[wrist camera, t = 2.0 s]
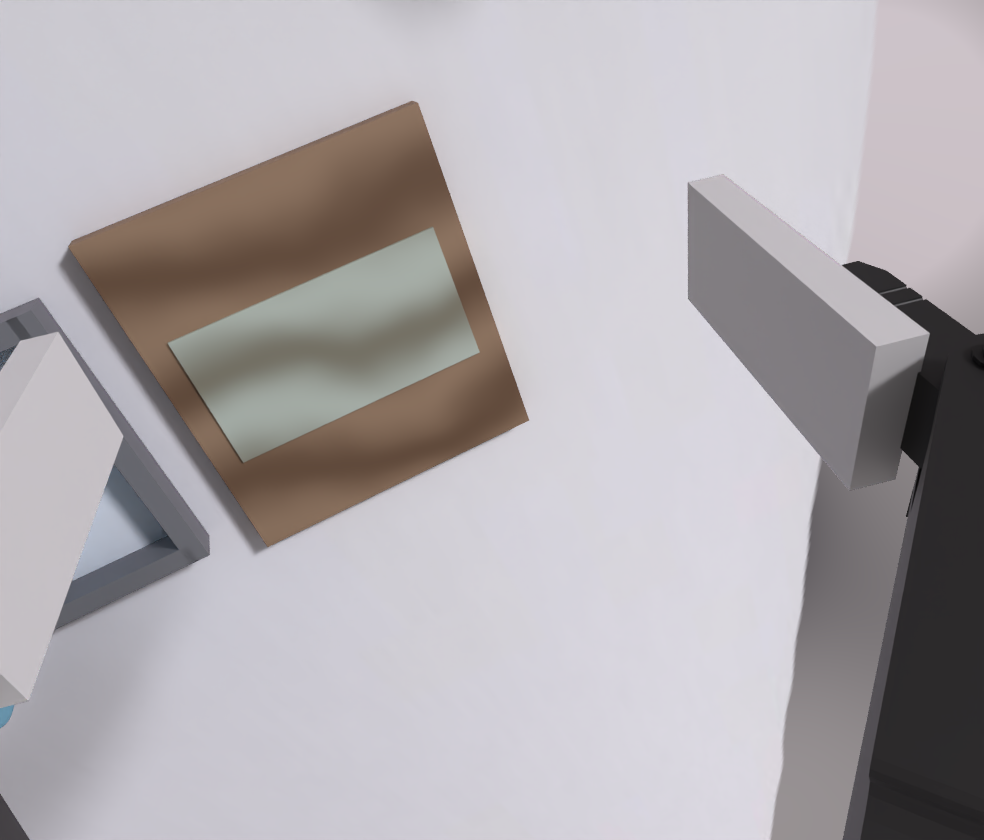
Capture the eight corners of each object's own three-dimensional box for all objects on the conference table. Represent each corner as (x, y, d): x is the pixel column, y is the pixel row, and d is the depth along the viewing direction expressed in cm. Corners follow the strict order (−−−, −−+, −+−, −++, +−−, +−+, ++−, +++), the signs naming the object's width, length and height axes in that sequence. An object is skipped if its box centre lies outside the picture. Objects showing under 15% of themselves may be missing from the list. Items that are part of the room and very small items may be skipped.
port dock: (72, 240, 35) (67, 247, 34) (411, 100, 38) (418, 102, 37) (266, 535, 46) (267, 548, 45) (522, 412, 48) (530, 421, 47)
